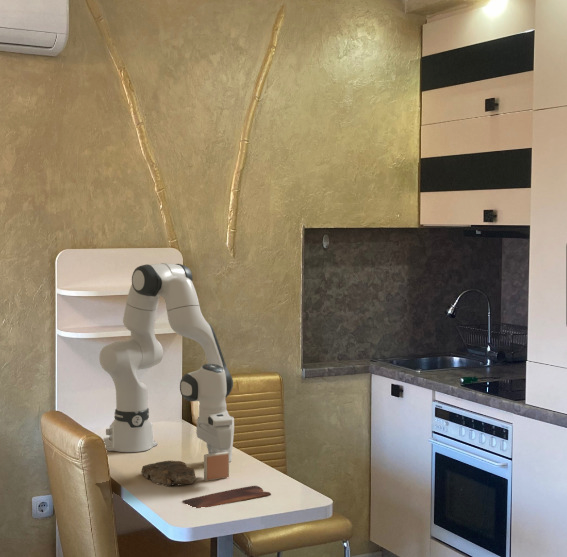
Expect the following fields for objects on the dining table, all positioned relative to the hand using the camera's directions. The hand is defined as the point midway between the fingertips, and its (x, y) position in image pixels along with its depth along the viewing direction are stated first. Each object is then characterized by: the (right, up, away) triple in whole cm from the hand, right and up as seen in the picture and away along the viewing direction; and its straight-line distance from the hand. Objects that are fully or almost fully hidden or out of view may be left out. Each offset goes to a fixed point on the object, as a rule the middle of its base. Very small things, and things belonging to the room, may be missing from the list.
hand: (212, 457), depth 282 cm
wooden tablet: (+6, -8, -22) cm, 24 cm away
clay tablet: (-13, -7, -4) cm, 15 cm away
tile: (+1, -6, -3) cm, 7 cm away
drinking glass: (+3, -5, +17) cm, 18 cm away
